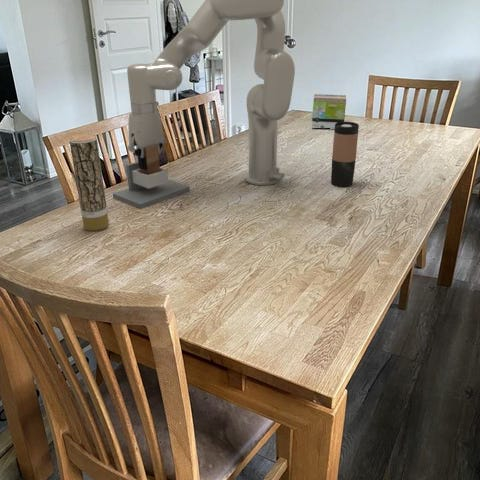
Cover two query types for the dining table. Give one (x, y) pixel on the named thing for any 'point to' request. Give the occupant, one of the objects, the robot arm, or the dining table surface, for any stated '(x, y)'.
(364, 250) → the dining table surface
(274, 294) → the dining table surface
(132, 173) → the bracket stand
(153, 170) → the rail post
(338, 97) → the tea box
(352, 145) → the travel mug
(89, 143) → the brown bark cylinder
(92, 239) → the dining table surface
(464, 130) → the dining table surface
